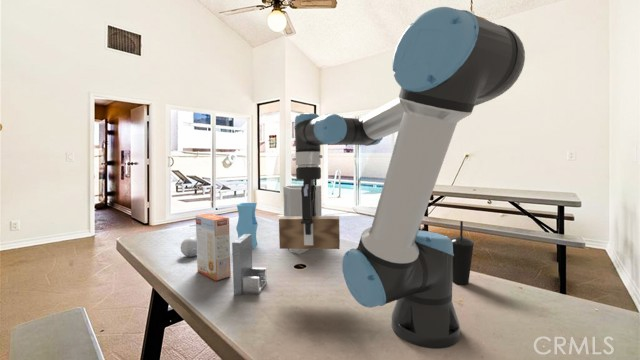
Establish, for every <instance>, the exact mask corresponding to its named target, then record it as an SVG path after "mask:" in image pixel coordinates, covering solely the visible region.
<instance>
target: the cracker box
mask: <svg viewBox="0 0 640 360" xmlns="http://www.w3.org/2000/svg"><path fill="white" fill-rule="evenodd" d="M195 230H196V231H195V236H196V237H195V238H196V239H197V255H196V262H197V272H198V273H200V274H203V275H204V276H206V277H208V278H210V279H211V280H214V281H215V282H217V281H221V280H223V279H227V278H230V277H231V276H232V275H231V274H232V273H231V247H230V245H231V244H230V243H231V240H230V239H231V238H230V218H229V217H226V216H221V215H218V214H213V213H204V214H197V215H195Z"/></svg>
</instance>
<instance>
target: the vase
mask: <svg viewBox="0 0 640 360" xmlns="http://www.w3.org/2000/svg"><path fill="white" fill-rule="evenodd" d="M256 207H257V202H240V203H238V204H236V208H237V213H238V221H237V223H236V224H237V225H236V234H237V236H238V237H237V239H238V238H239V237H241V236H242V235H244V234H251V236H252V249H255V248H256V247H257V245H258V240H257V230H258V225H259V224H258V221H257V219H256V209H257V208H256Z"/></svg>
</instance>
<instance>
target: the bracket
mask: <svg viewBox="0 0 640 360" xmlns="http://www.w3.org/2000/svg"><path fill="white" fill-rule="evenodd" d="M231 249H232V250H231V251H232V254H231V255H232V278H233V280H232V281H233V283H232V284H233V296H242V295H260V293H261V292H262V290H263V289H264V287H265V286H266V284H267V283H268V282H267V279H268V278H267V267H253V248H252V236H251V234H244V235H242V236H241V237H239V238H238V237H237V239H235V240H233V241H232V242H231Z"/></svg>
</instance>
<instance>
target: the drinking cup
mask: <svg viewBox="0 0 640 360" xmlns="http://www.w3.org/2000/svg"><path fill="white" fill-rule="evenodd" d="M459 223H460V226H459V227H460V228H459V231H460V232H459V236H453V237H449V239H451V241H452V243H453V253H454V256H453V281H452V284H453V283H454V284H455V285H459V286H467V285H469V282H470V275H471V269H472V268H471V267H472V259H473V254H474V246H475V245H476V244H475V241H474V240H473V239H470V238H469V237H465V236H463V235H464V234H463V232H464V231H463V229H464V228H463V227H464V225H463V224H464V221H462V220H460V222H459Z"/></svg>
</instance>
